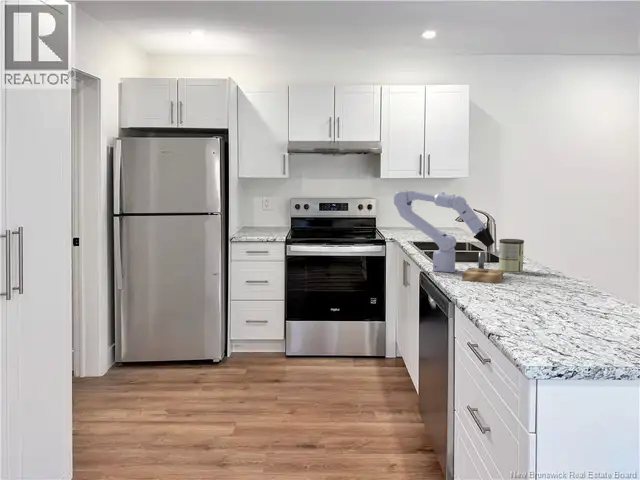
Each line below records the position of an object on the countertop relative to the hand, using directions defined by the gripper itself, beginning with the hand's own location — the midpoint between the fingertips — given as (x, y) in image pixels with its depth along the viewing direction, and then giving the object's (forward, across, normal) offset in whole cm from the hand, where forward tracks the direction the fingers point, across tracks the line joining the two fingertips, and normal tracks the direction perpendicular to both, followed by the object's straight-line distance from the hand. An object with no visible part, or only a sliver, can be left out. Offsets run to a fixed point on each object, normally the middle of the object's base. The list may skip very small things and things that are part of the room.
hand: (491, 245), depth 239 cm
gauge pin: (+7, 0, +11) cm, 13 cm away
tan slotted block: (+9, -13, +9) cm, 18 cm away
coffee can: (+14, +10, +2) cm, 18 cm away
